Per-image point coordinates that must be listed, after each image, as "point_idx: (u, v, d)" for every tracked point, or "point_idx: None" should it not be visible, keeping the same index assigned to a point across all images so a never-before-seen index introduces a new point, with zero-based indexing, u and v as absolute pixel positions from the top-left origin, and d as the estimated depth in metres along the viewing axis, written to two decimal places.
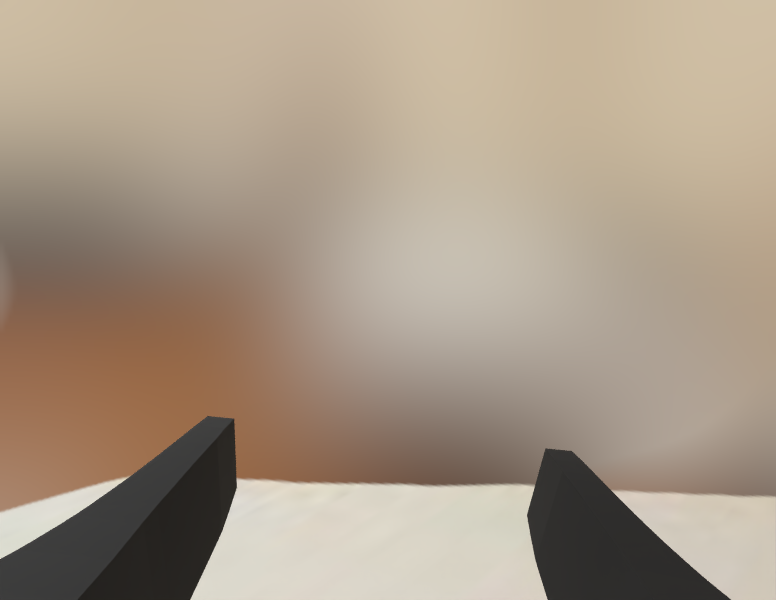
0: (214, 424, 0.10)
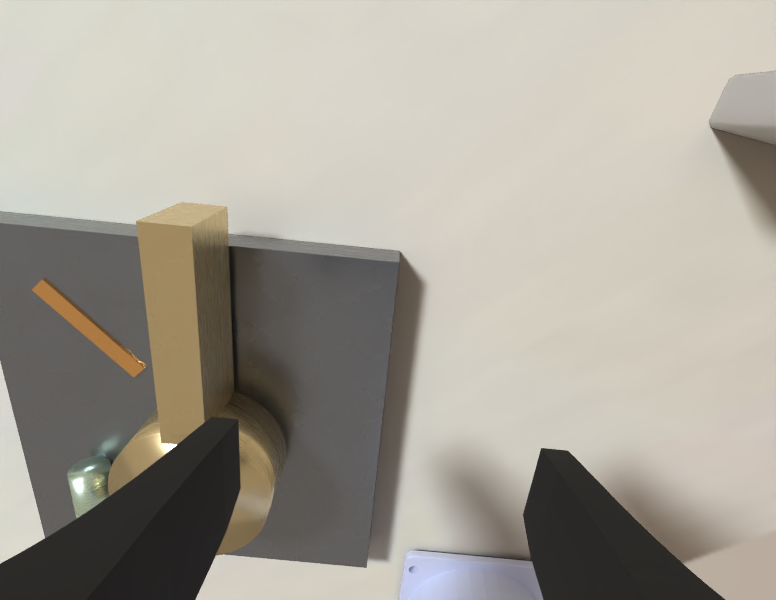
0: (219, 424, 0.10)
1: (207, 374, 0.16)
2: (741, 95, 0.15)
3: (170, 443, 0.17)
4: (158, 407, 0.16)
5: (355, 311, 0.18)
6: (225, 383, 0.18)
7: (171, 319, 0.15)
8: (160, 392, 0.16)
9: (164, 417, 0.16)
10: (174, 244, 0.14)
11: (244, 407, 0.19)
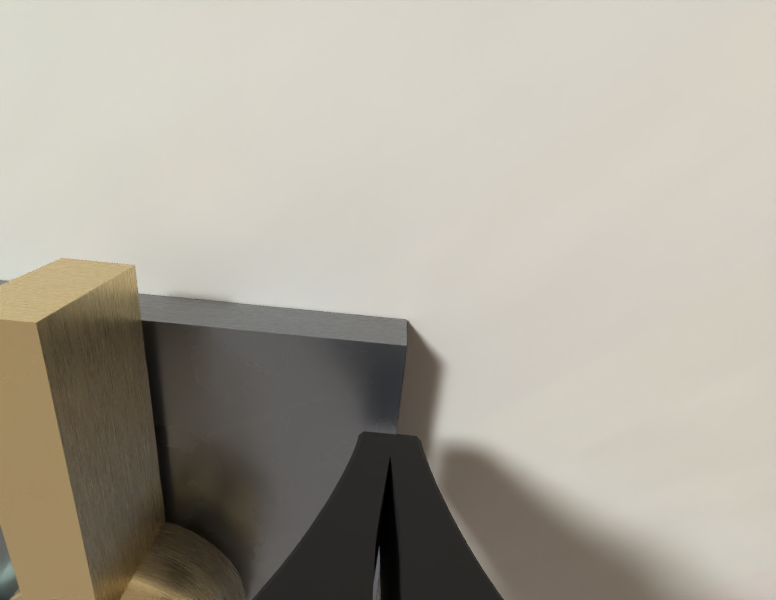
0: (377, 440, 0.10)
1: (100, 535, 0.10)
2: None
3: None
4: (21, 588, 0.10)
5: (340, 413, 0.12)
6: (145, 522, 0.12)
7: (22, 467, 0.09)
8: (21, 569, 0.10)
9: None
10: (11, 350, 0.08)
11: (177, 551, 0.13)
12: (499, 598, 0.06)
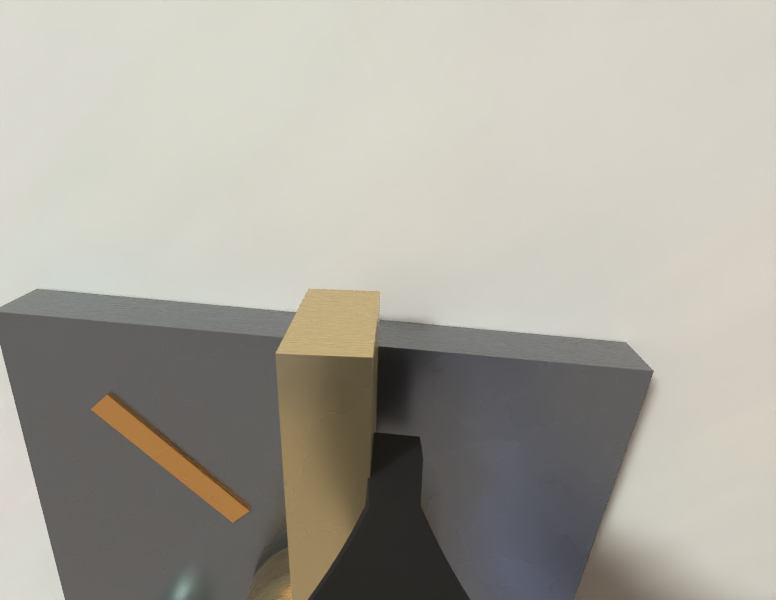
0: (408, 442, 0.10)
1: None
2: None
3: None
4: None
5: (571, 437, 0.12)
6: None
7: (324, 498, 0.09)
8: (300, 598, 0.10)
9: None
10: (341, 386, 0.08)
11: None
12: (463, 594, 0.06)
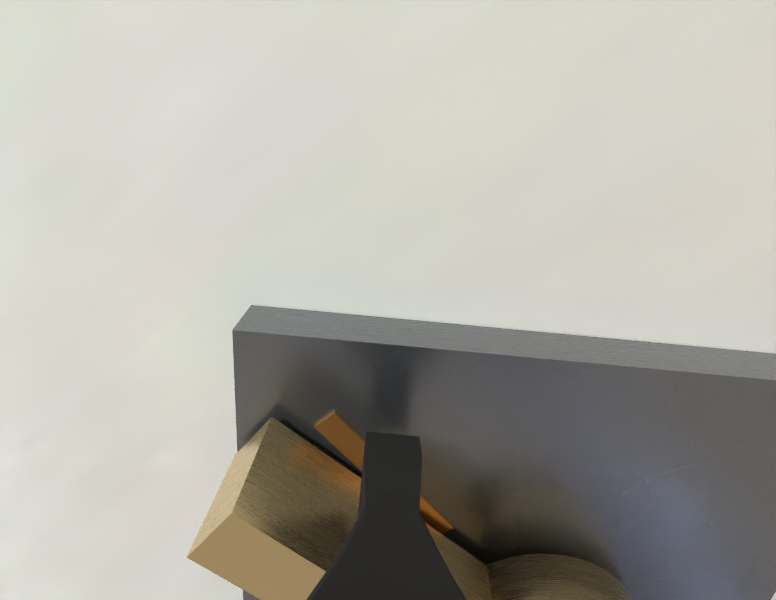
0: (407, 442, 0.10)
1: None
2: None
3: None
4: None
5: None
6: (466, 578, 0.12)
7: None
8: None
9: None
10: (240, 542, 0.09)
11: (514, 580, 0.13)
12: (459, 594, 0.06)
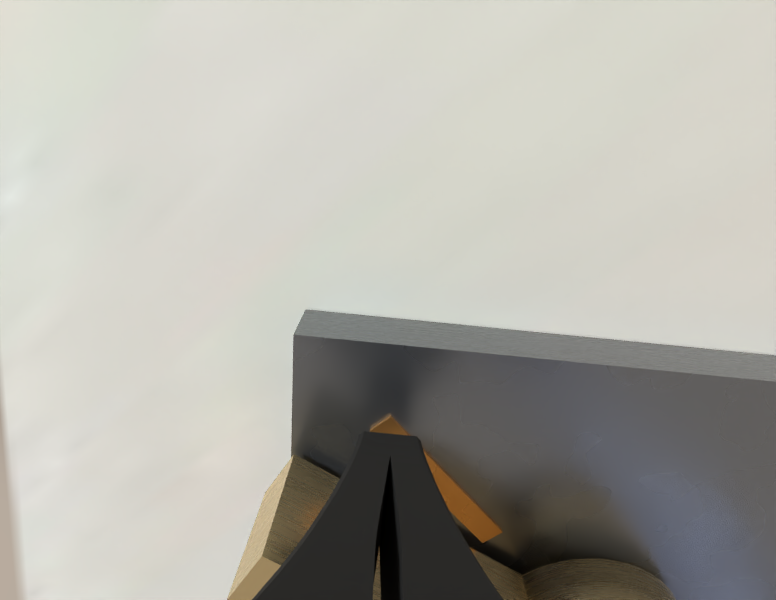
0: (377, 439, 0.10)
1: None
2: None
3: None
4: None
5: None
6: (502, 591, 0.13)
7: None
8: None
9: None
10: None
11: (550, 589, 0.13)
12: (499, 598, 0.06)
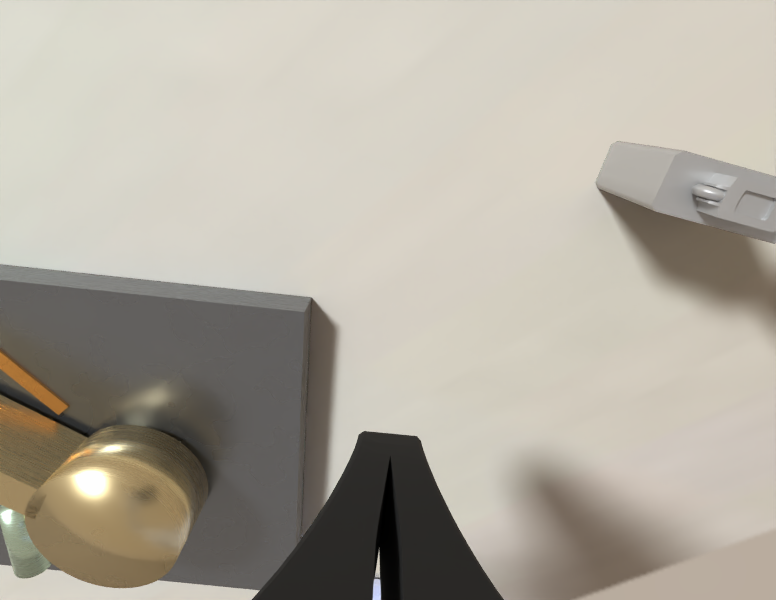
0: (377, 439, 0.10)
1: None
2: (616, 163, 0.16)
3: (36, 513, 0.18)
4: None
5: (265, 356, 0.19)
6: (52, 441, 0.19)
7: None
8: None
9: (7, 503, 0.18)
10: None
11: (87, 441, 0.20)
12: (499, 598, 0.06)
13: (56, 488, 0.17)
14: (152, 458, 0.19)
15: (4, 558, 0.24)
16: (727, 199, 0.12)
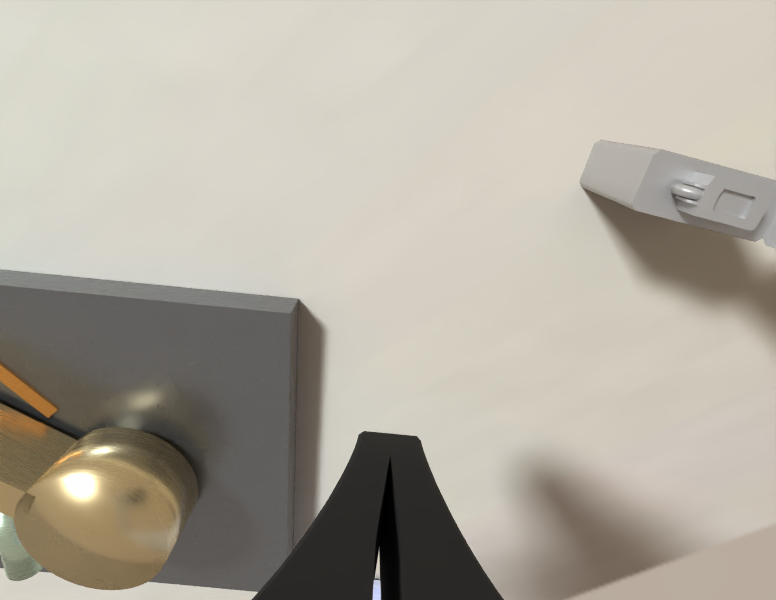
0: (377, 439, 0.10)
1: None
2: (599, 162, 0.16)
3: (25, 516, 0.18)
4: None
5: (252, 357, 0.19)
6: (41, 444, 0.19)
7: None
8: None
9: None
10: None
11: (77, 443, 0.20)
12: (499, 598, 0.06)
13: (44, 491, 0.18)
14: (140, 460, 0.19)
15: None
16: (705, 198, 0.12)
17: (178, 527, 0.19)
